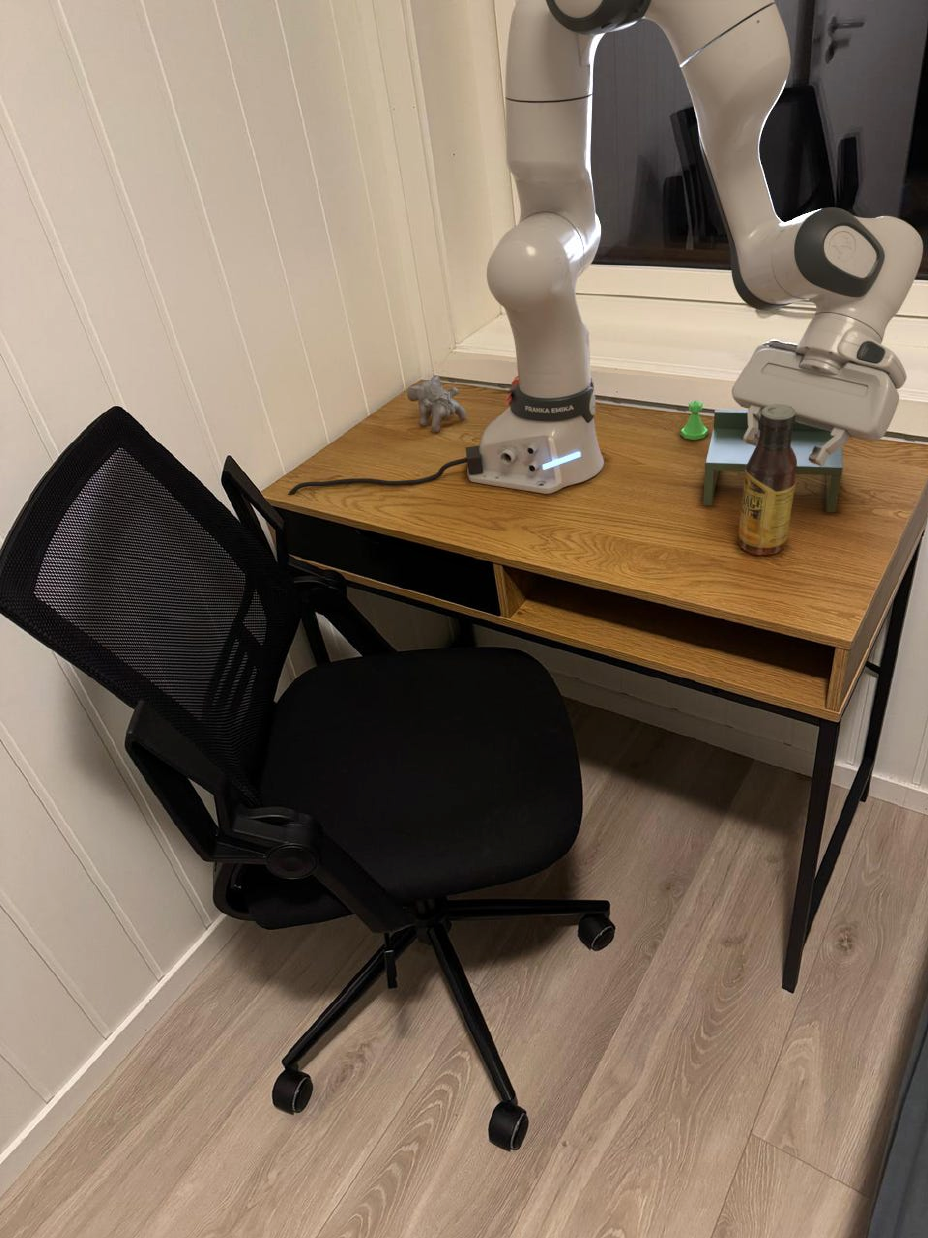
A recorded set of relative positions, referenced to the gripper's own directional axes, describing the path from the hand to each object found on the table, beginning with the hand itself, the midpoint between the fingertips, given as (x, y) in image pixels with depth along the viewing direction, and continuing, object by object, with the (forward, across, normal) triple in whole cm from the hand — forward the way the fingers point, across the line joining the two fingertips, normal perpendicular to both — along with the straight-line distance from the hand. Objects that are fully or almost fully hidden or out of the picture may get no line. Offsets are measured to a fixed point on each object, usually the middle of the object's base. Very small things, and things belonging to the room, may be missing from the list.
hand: (781, 452), depth 108 cm
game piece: (-4, -28, +23) cm, 37 cm away
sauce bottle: (+11, 0, +8) cm, 14 cm away
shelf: (+1, -8, +18) cm, 20 cm away
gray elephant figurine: (+12, -70, +7) cm, 72 cm away
